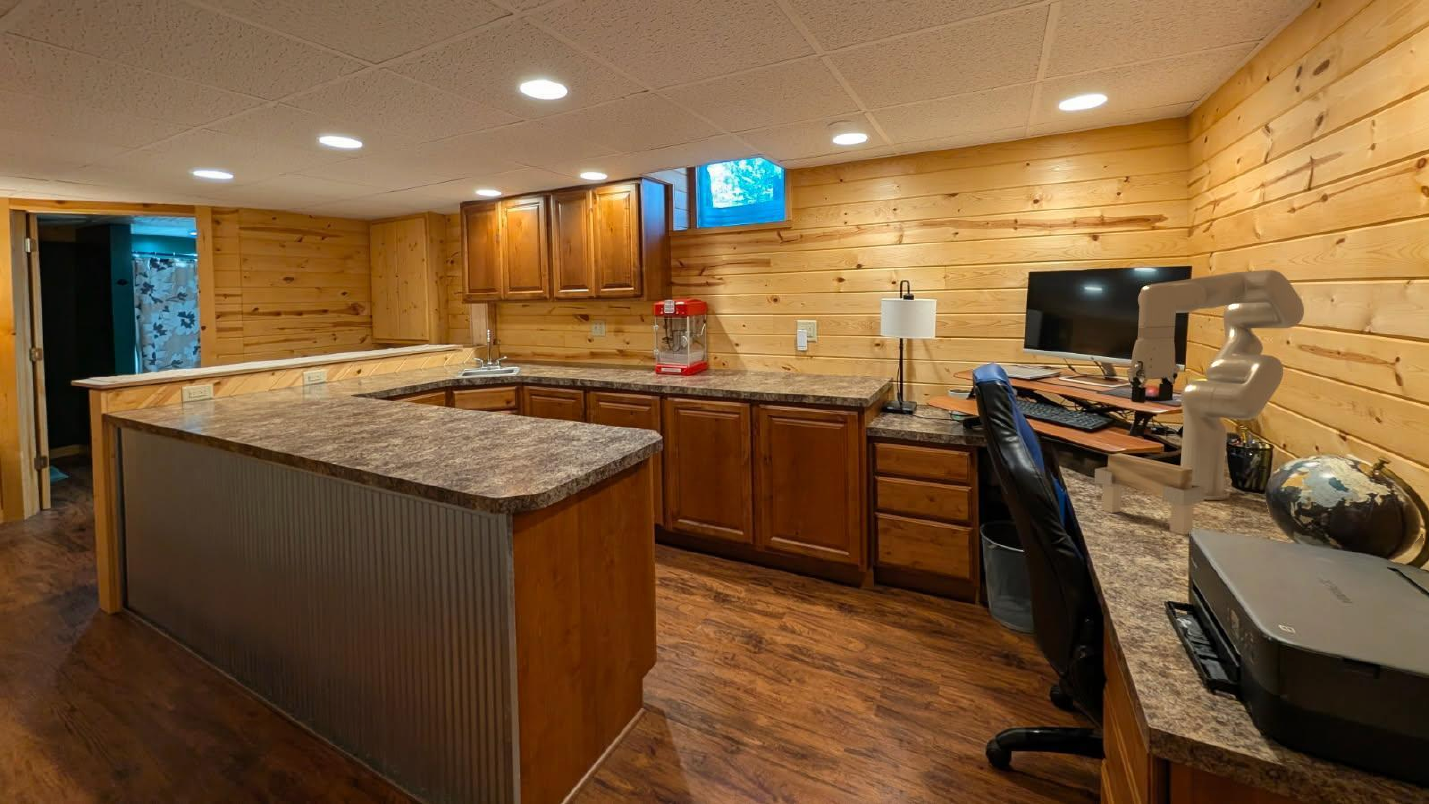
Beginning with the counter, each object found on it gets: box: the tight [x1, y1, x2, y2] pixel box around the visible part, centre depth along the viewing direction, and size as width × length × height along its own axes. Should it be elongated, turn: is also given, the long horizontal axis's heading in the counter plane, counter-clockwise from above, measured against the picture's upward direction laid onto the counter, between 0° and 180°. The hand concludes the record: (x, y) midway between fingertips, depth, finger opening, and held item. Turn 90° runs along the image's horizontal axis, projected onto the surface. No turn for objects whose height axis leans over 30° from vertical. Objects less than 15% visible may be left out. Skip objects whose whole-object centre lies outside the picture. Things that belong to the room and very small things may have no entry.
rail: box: [1107, 452, 1193, 497], centre depth 151 cm, size 4×18×7 cm, turn 19°
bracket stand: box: [1094, 466, 1205, 536], centre depth 151 cm, size 7×22×11 cm, turn 19°
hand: (1151, 400), depth 158 cm, fingers open, 9 cm apart
